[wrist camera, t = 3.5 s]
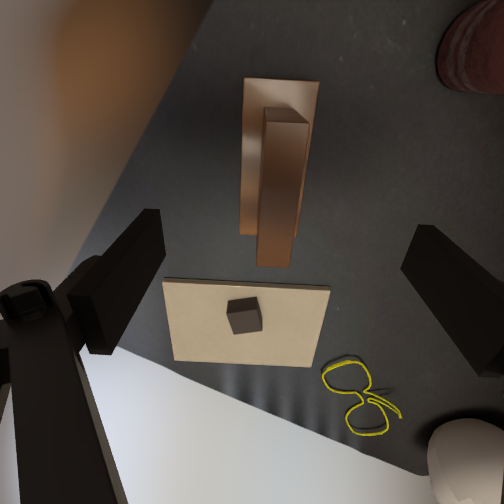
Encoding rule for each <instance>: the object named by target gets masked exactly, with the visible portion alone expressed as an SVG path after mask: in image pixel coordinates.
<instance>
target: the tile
mask: <svg viewBox="0 0 504 504" xmlns="http://www.w3.org/2000/svg"><path fill="white" fill-rule="evenodd" d="M162 284H163V291H164V297H165V303H166V310H167V316H168V322H169V329H170V335H171V341H172V347H173V354H174V360H177V361H196V362H216V363H236V364H255V365H275V366H295V367H311V365H312V362H313V358H314V354H315V350H316V346H317V342H318V338H319V334H320V331H321V327H322V323H323V319H324V315H325V311H326V307H327V304H328V300H329V296H330V292H331V290H330V287H329V286H313V285H294V284H275V283H256V282H236V281H217V280H198V279H179V278H164V279H163V281H162ZM250 297H257V299H258V303H259V307H260V310H261V314H262V321H263V331H259V332H252V333H244V334H237V335H234V334H233V332H232V329H231V326H230V323H229V321H228V318H227V315H226V311H227V304H228V301H230V300H236V299H243V298H250Z"/></svg>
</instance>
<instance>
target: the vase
mask: <svg viewBox="0 0 504 504" xmlns="http://www.w3.org/2000/svg"><path fill="white" fill-rule="evenodd" d="M427 461H428V468H429V475H430V482H431V486H432V489H433V491H434V494H435V497H436V499H437V501H438V502H439V504H501V494H502V484H503V473H504V431H503V430H501V429H500V428H498V427H497V426H495V425H492V424H490V423H487V422H485V421H482V420H479V419H473V418H464V419H457V420H453V421H449V422H447V423H444V424H442V425H441V426H439V427H437V428H436V429H435V430H434V432H433V434H432V436H431V439H430V441H429V445H428V453H427Z"/></svg>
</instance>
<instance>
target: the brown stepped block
mask: <svg viewBox="0 0 504 504" xmlns="http://www.w3.org/2000/svg"><path fill="white" fill-rule="evenodd" d="M319 84H320V82H319V81H307V80H289V79H272V78H254V77H244V78H243V114H242V152H241V190H240V228H239V234H245V235H257V246H256V266H264V267H283V268H289V265H290V259H291V252H292V245H293V238H294V237H296V235H297V229H298V222H299V216H300V209H301V202H302V196H303V189H304V183H305V176H306V170H307V163H308V156H309V150H310V143H311V137H312V130H313V123H314V117H315V110H316V104H317V97H318V90H319Z"/></svg>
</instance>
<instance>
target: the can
mask: <svg viewBox="0 0 504 504" xmlns="http://www.w3.org/2000/svg"><path fill="white" fill-rule="evenodd" d="M437 63H438V72H439V76H440V77H441V79H442V81H443V83H444V84H445V85H446V86H448V87H449V88H450V89H451V90H456V91H460V92H472V93H487V94H501V95H504V0H484V1H481V2H479V3H477V4H476V5H474V6H472V7H470V8H468V9H467V10H466V11H465V12H464V13H463V14H462V15H460V16H459V17H458V18H457V19H456V20H455V22H454V23H453V24H452V26H451V27H450V29H449V30H448V31H447V33H446V35H445V37H444V39H443V42H442V44H441V46H440V49H439V55H438V61H437Z"/></svg>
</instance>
